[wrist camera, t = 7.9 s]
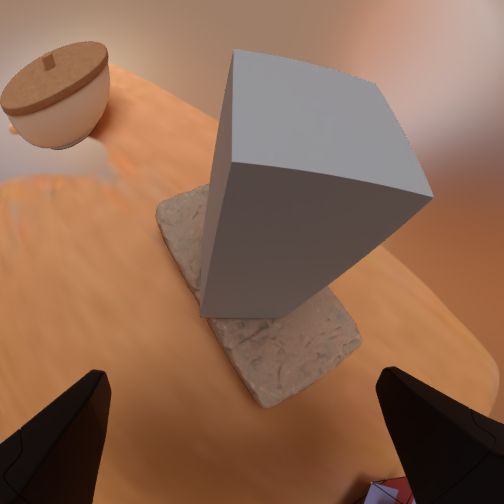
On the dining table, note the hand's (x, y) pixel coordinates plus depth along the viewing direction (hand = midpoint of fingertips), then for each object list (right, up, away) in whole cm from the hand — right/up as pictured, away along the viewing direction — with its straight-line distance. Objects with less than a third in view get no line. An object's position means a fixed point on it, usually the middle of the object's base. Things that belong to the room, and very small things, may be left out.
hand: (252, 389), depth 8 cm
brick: (-1, +1, +15) cm, 15 cm away
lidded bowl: (-22, +19, +19) cm, 34 cm away
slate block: (-1, +2, +10) cm, 10 cm away
